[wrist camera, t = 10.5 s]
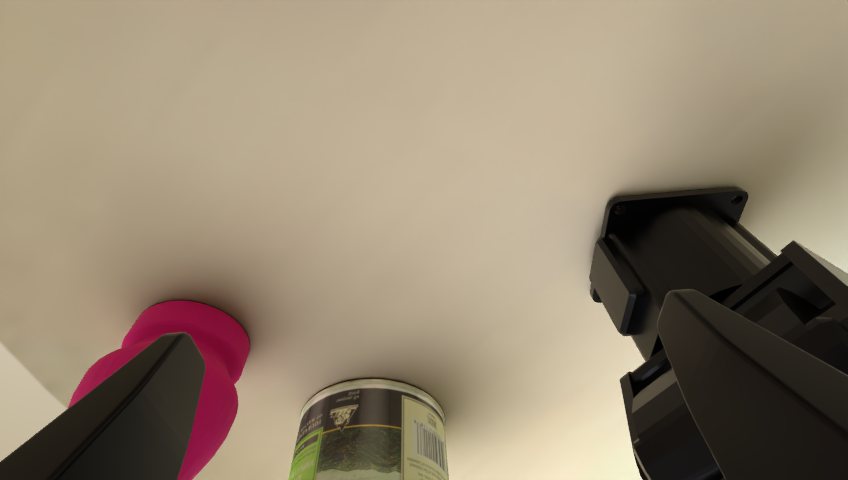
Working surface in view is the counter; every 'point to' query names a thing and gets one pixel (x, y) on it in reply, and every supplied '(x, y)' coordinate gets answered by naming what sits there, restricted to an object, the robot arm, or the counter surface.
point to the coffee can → (371, 434)
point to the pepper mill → (224, 366)
